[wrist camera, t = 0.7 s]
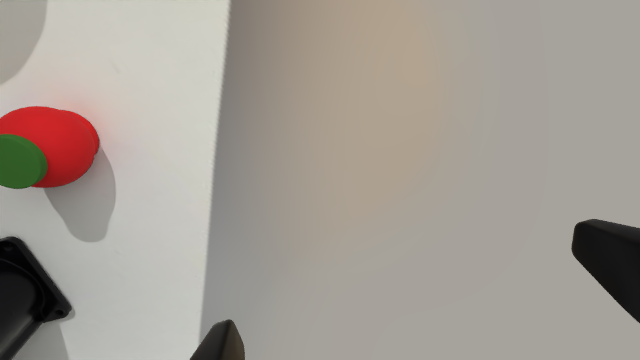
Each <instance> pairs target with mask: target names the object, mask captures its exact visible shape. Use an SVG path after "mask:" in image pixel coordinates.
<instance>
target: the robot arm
mask: <svg viewBox="0 0 640 360" xmlns="http://www.w3.org/2000/svg"><path fill="white" fill-rule="evenodd" d="M9 244H11V245H12V246H11V245H9ZM572 253H573V255H574V257H575V258H576V259H577V260H578V261H579V262H580V263H581V264H582V265H583V267H584V268H585V269H586V270H587V271H588V272H589V273H590V274H591V275H592V276H593V277H594V278H595V279H596V280H597V281H598V282H599V283H600V284H601V285H602V286H603V288H604V289H605V290H606V291H607V292H608V293H609V294H610V295H611V296H612V297H613V298H614V299H615V300H616V301H617V302H618V303H619V304H620V305H621V306H622V307H623V308H624V309H625V310H626V311H627V312H628V313H629V314H630V315H631V316H632V317H633V318H635V319H636V320H637V321H638V322H639V323H640V228H636V227H631V226H626V225H622V224H617V223H612V222H607V221H603V220H597V219H591V220H587V221H583V222H579V223H577V224H576V226H575V228H574V234H573V241H572ZM70 311H71V306H70V305H69V304H68V302H67V301H66V300H65V298H64V297H63V296H62V294H61V293H60V292H59V290H58V289H57V288H56V286H55V285H54V284H53V282H52V281H51V280H50V278H49V277H48V276H47V274H46V273H45V272H44V270H43V269H42V268H41V266H40V265H39V264H38V262H37V261H36V260H35V258H34V257H33V256H32V254H31V253H30V252H29V250H28V249H27V248H26V246H25V245H24V244H23V242H22V241H21V240H20V239H18V238H16V237H6V238H2V239H0V360H11V359H12V358H13V357H14V356H15V355H16V354H17V352H18V351H19V350H20V349H21V348H22V346H23V345H24V344H25V343H26V342H27V341H28V339H29V338H30V337H31V336H32V335H33V334H34V332H35V331H36V330H37V329H38V328H39V326H40V325H41V324H42V323H45V322H49V321H53V320H56V319H60V318H64V317H66V316H67V315H68V313H69V312H70ZM190 360H245V352H244V345H243V342H242V339H241V337H240V335H239V333H238V330H237V328H236V326H235V324H234V322H233V321H232V320H226V321H222V322H218V323H216V324H214V325H213V326H212V328H211V329H210V331H209V332H208V334H207V335H206V337H205V338H204V340H203V341H202V342H201V344H200V345H199V347H198V348H197V350H196V351H195V353H194V354H193V355H192V357H191V358H190Z"/></svg>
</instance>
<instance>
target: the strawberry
mask: <svg viewBox="0 0 640 360" xmlns="http://www.w3.org/2000/svg"><path fill="white" fill-rule="evenodd" d="M98 147H99V138H98V135H97V132H96V130H95V129H94V127H93V126H92V125H91V123H90V122H89V121H87V120H86V119H85V118H83V117H82V116H80V115H78V114H76V113H74V112H70V111H65V110H58V109H54V108H49V107H39V106H35V107H26V108H20V109H17V110H14V111H12V112H10V113H8V114H6V115H4V116H3V117H1V118H0V185H1V186H4V187H8V188H14V189H22V188H27V187H30V186H31V187H39V188H51V187H58V186H62V185H65V184H68V183H71V182H73V181H75V180H77V179H78V178H80V177H81V176H82V175H83V174H84V173H85V172H86V171H87V170H88V169H89V167H90V166H91V164H92V162H93V159H94V156H95V154H96V152H97V151H98Z"/></svg>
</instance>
